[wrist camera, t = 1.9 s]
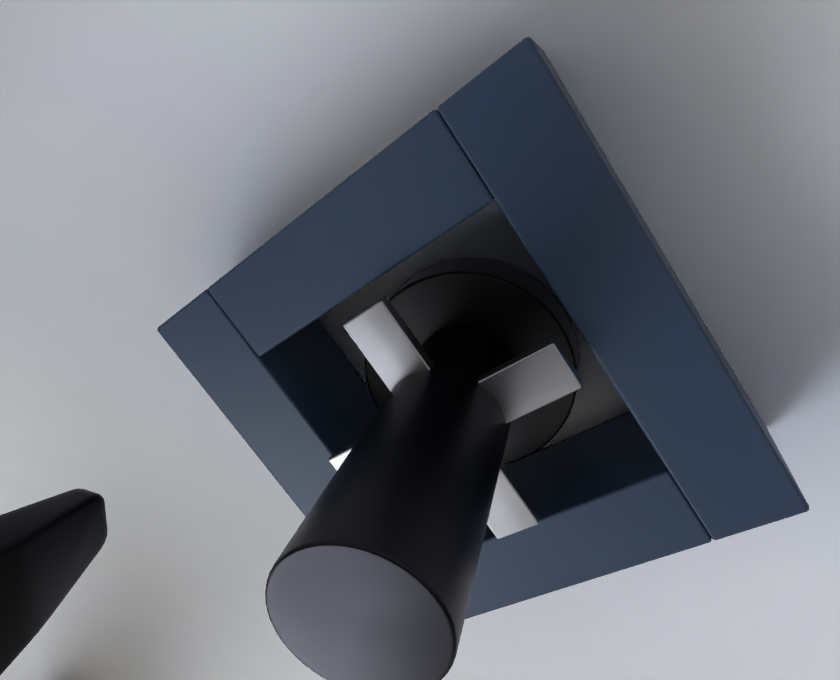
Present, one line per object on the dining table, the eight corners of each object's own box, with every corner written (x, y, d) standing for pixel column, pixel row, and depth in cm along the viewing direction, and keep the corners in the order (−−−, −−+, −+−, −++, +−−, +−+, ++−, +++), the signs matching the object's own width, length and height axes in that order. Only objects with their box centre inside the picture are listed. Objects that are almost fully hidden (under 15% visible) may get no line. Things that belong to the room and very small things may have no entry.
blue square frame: (430, 558, 21) (402, 639, 18) (226, 290, 19) (155, 329, 16) (767, 430, 16) (812, 511, 13) (542, 48, 14) (528, 34, 11)
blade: (448, 478, 19) (328, 802, 10) (331, 317, 18) (85, 528, 9) (632, 396, 17) (685, 741, 8) (508, 200, 15) (400, 341, 7)
